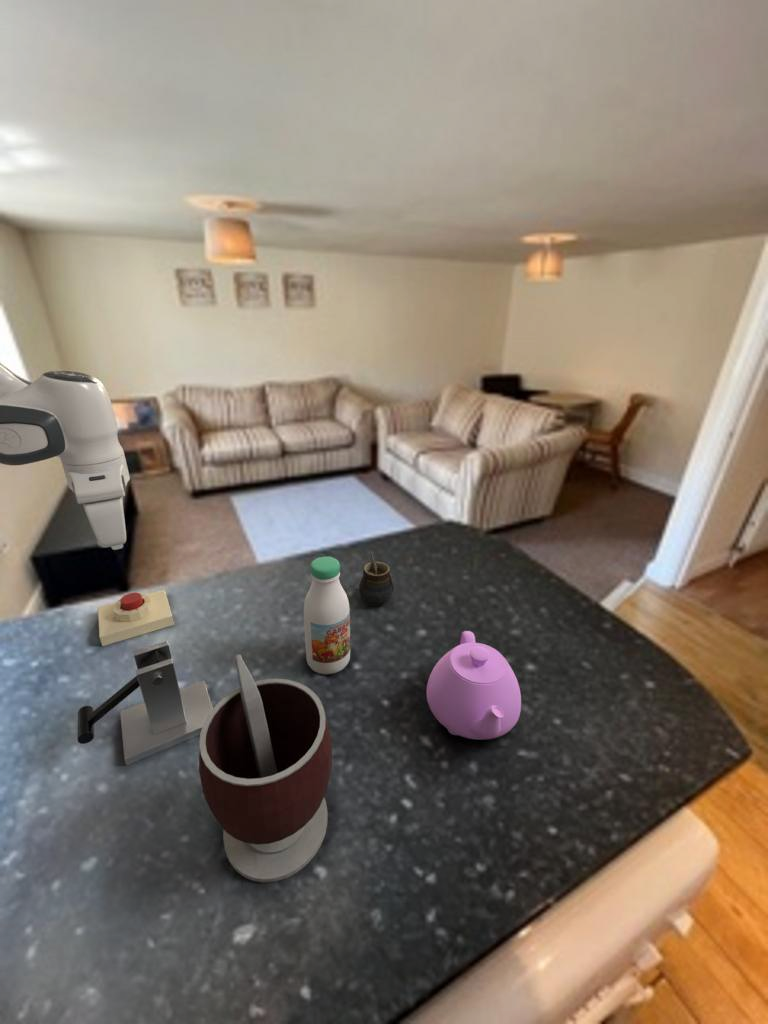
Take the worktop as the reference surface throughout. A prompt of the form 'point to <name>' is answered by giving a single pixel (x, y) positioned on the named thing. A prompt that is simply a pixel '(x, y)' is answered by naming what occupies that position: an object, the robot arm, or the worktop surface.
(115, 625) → the button box
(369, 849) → the worktop surface
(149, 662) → the lever
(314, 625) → the milk bottle
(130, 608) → the button
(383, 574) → the mate gourd
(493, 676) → the teapot
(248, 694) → the mate gourd
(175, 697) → the bracket
